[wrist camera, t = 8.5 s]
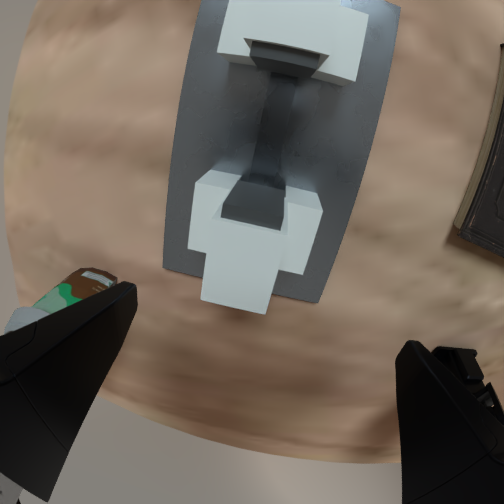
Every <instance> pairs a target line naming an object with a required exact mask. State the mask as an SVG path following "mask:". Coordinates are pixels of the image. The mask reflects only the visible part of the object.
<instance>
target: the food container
mask: <svg viewBox="0 0 504 504" xmlns="http://www.w3.org/2000/svg"><path fill="white" fill-rule="evenodd" d="M116 280H117V277H115V276H113V275H112V274H110V273H108V272H106V271H103V270H99V269H96V268H80V269H79V270H77V271H75V272H73V273H72V274H71V275H69V276H68V277H67V278H66V279H64V280H63V281H62V282H61V283H59V284H58V285H57V286H56V287H54V288H53V289H52V290H51V291H50V292H48V293H47V294H46V295H45V296H44V297H42V298H41V299H40V300H39V301H38V302H36V303H35V304H34V305H33V306H32V307H21V308H18V309H17V310H15V311H14V313H13V314H12V316H11V318H10V320H9V322H8V324H7V325H6V327H5V332H4V334H7V333H9V332H12V331H14V330H17V329H19V328H21V327H23V326H26V325H28V324H30V323H32V322H34V321H38V320H39V319H41V318H43V317H45V316H47V315H50V314H52V313H54V312H56V311H58V310H60V309H63V308H65V307H67V306H69V305H71V304H74V303H76V302H78V301H80V300H82V299H85V298H87V297H89V296H91V295H94V294H96V293H98V292H100V291H103V290H105V289H107V288H109V287H112V286H114V285H115V283H116Z"/></svg>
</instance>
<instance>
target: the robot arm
mask: <svg viewBox="0 0 504 504" xmlns="http://www.w3.org/2000/svg"><path fill="white" fill-rule="evenodd" d="M137 306H138V302H137V287H136V285H135V284H133V283H130V282H126V281H123V282H121V283H118V284H116V285H114V286H112V287H109V288H107V289H105V290H103V291H100V292H98V293H96V294H94V295H91V296H89V297H87V298H85V299H82V300H80V301H78V302H76V303H74V304H71V305H69V306H67V307H65V308H63V309H60V310H58V311H56V312H54V313H52V314H50V315H47V316H45V317H43V318H41V319H39V320H38V321H34V322H32V323H30V324H28V325H26V326H23V327H21V328H19V329H17V330H14V331H12V332H9V333H7V334H4V335H2V336H0V504H21V503H20V501H19V496H20V493H21V491H22V489H23V488H24V489H25V490H27V491H28V492H30V493H32V494H33V495H35V496H37V497H38V498H40V499H42V500H44V501H45V502H48V501H49V499H50V496H51V494H52V491H53V489H54V486H55V484H56V482H57V479H58V477H59V474H60V472H61V470H62V467H63V465H64V463H65V460H66V458H67V456H68V453H69V451H70V449H71V446H72V444H73V442H74V440H75V438H76V436H77V434H78V431H79V429H80V427H81V425H82V423H83V421H84V419H85V417H86V415H87V413H88V411H89V408H90V407H91V405H92V403H93V401H94V399H95V397H96V395H97V393H98V391H99V389H100V387H101V385H102V383H103V381H104V379H105V377H106V375H107V374H108V372H109V370H110V368H111V366H112V364H113V362H114V360H115V359H116V357H117V355H118V353H119V351H120V349H121V347H122V345H123V342H124V340H125V337H126V335H127V332H128V330H129V328H130V325H131V323H132V320H133V318H134V316H135V313H136V311H137ZM476 356H477V351H476V350H474V349H462V348H452V347H442V346H439V347H437V348H436V349H435V350H434V351H433V353H431V352H430V351H429V350H428V349H426V348H425V347H424V346H423V345H422V344H421V343H420V342H419V341H414V340H408V341H407V342H406V343H405V345H404V346H403V348H402V349H401V351H400V352H399V354H398V355H397V357H396V361H395V369H396V400H397V411H398V420H399V432H400V445H401V464H402V504H504V410H503V408H502V406H501V403H500V401H499V399H498V396H497V394H496V392H495V390H494V388H493V386H492V385H491V383H490V382H489V383H488V384H487V385H486V386H485V385H484V383H483V381H482V380H483V379H484V375H483V373H482V371H481V369H480V367H479V365H478V363H477V361H476V359H475V357H476ZM492 405H494V406H493V407H492Z"/></svg>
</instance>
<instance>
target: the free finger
mask: <svg viewBox="0 0 504 504" xmlns="http://www.w3.org/2000/svg"><path fill="white" fill-rule="evenodd" d="M322 213H323V209H322V206H321V203H320V200H319V197H318V195H317V193H314V192H310V191H306V190H302V189H298V188H294V187H290V186H286V187H285V190H280V189H276V188H272V187H267V186H263V185H258V184H254V183H249V182H245V181H241V176H240V175H235V174H230V173H225V172H220V171H215V170H209V171H208V172H207V173H206V174H205V175H204V176H202V177H201V178H200V179H199V180H198V181H197V182H195V189H194V197H193V205H192V213H191V221H190V230H189V239H188V249H191V250H195V251H199V252H204V253H206V260H205V268H204V275H203V283H202V291H201V300H203V301H208V302H212V303H216V304H220V305H224V306H228V307H233V308H237V309H242V310H246V311H250V312H255V313H260V314H264V315H265V314H266V310H267V307H268V304H269V300H270V297H271V293H272V290H273V286H274V283H275V280H276V276H277V273H278V270H283V271H287V272H292V273H296V274H301V275H303V273H304V270H305V267H306V264H307V260H308V257H309V254H310V251H311V248H312V245H313V242H314V239H315V235H316V232H317V229H318V226H319V223H320V219H321V216H322Z"/></svg>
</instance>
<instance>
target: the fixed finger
mask: <svg viewBox="0 0 504 504" xmlns="http://www.w3.org/2000/svg"><path fill="white" fill-rule="evenodd" d="M340 4H341V0H229V3H228V7H227V11H226V15H225V19H224V23H223V27H222V31H221V36H220V40H219V44H218V49H217V53H218V54H219V55H221V56H222V57H223V58H225V59H226V60H227V61H228V62H233V63H240V64H247V65H253V66H257V67H258V69H260V70H266V71H271V72H276V73H281V74H286V75H290V76H295V77H299V78H303V79H308V80H309V79H310V78H315V79H319V80H322V81H326V82H330V83H333V84H337V85H340V86H345V85H348V84H350V83H353V82H355V81H356V77H357V72H358V68H359V63H360V58H361V53H362V48H363V44H364V38H365V33H366V28H367V23H368V17H369V14H366V13H363V12H360V11H357V10H354V9H351V8H347V7H344V6H341V5H340Z"/></svg>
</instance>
